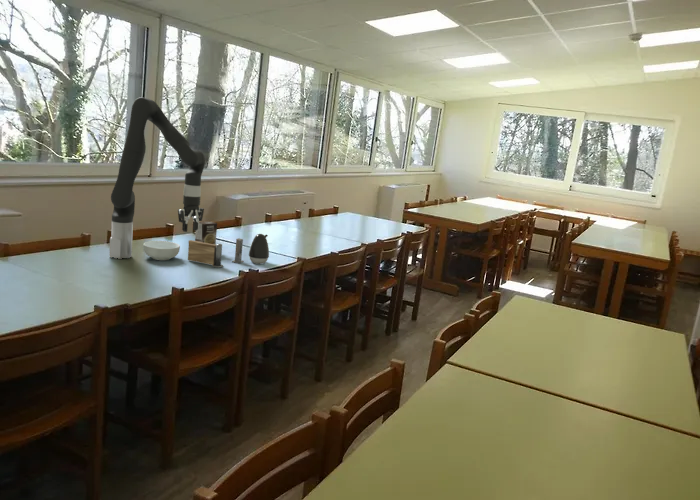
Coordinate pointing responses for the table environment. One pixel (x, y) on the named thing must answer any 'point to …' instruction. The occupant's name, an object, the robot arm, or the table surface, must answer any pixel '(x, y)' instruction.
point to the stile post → (238, 251)
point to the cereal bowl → (161, 249)
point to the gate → (201, 252)
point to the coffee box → (206, 232)
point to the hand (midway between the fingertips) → (190, 230)
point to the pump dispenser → (259, 249)
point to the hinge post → (218, 256)
